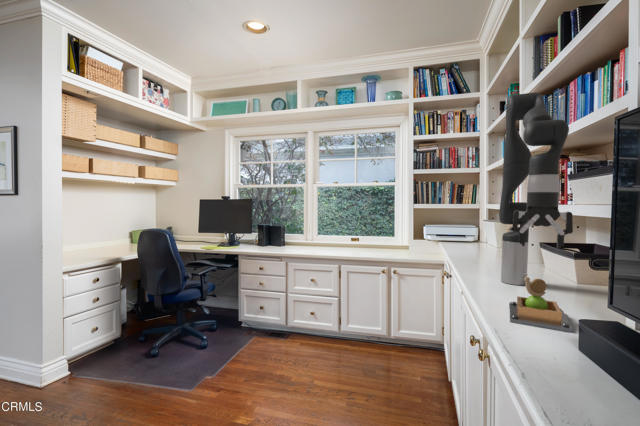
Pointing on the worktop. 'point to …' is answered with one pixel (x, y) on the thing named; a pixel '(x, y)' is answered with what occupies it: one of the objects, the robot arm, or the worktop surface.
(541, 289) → the snail figurine
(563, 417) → the worktop surface
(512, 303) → the socket plate
